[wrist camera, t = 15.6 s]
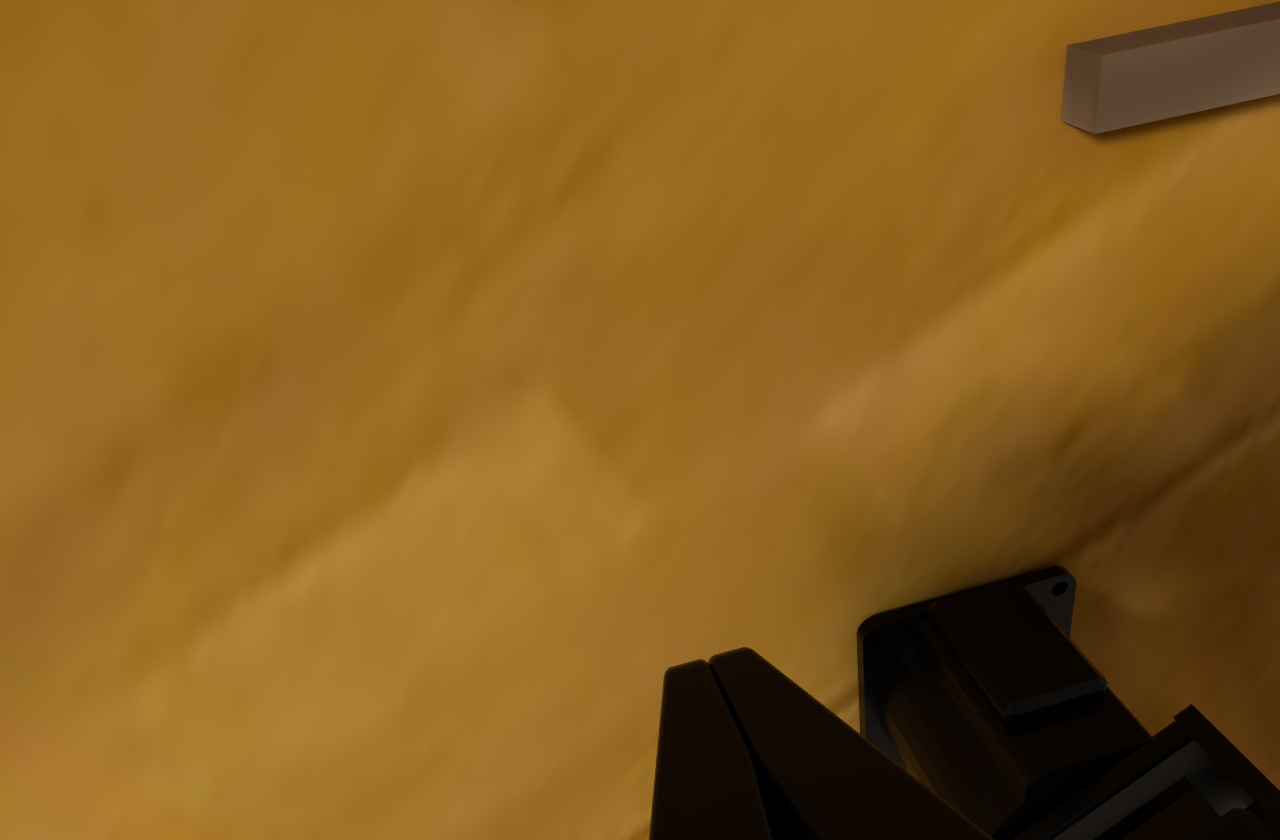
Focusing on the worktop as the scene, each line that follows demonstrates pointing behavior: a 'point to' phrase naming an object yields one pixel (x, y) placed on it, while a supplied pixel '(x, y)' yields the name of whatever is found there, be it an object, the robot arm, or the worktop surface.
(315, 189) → the worktop surface
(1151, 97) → the lane
